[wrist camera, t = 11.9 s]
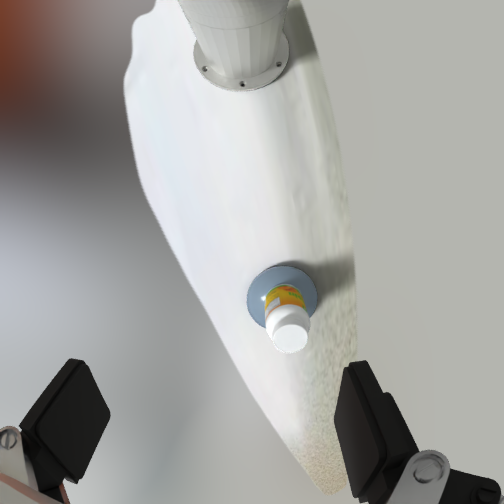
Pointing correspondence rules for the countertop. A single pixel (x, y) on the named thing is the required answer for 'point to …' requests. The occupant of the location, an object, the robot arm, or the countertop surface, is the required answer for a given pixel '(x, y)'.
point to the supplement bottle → (286, 318)
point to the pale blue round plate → (273, 279)
